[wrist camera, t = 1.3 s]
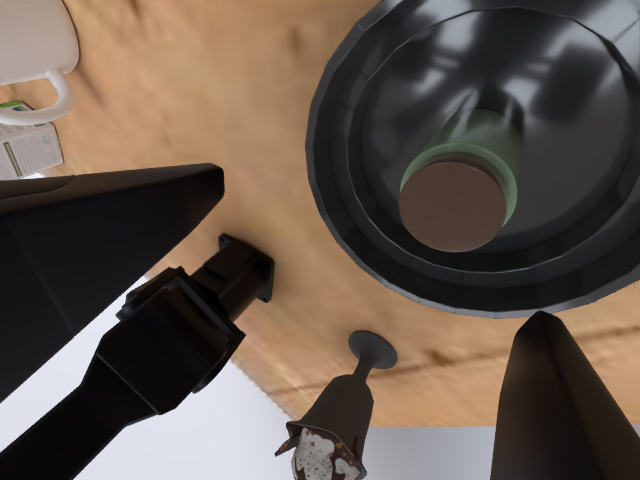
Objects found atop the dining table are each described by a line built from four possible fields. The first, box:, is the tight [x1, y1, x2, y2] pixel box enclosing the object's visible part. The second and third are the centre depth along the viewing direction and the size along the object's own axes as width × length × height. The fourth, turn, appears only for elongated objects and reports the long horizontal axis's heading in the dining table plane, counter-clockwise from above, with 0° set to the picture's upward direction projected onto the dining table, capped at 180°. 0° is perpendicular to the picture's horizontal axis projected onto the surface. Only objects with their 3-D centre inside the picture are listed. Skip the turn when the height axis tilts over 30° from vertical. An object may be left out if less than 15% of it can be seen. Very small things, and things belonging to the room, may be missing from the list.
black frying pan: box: [305, 0, 640, 319], centre depth 16 cm, size 16×16×4 cm
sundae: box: [275, 332, 397, 480], centre depth 26 cm, size 7×7×15 cm
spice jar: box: [399, 109, 522, 252], centre depth 15 cm, size 5×5×7 cm
